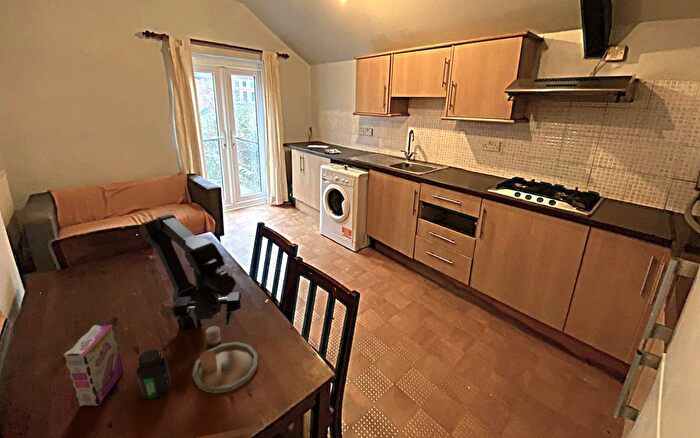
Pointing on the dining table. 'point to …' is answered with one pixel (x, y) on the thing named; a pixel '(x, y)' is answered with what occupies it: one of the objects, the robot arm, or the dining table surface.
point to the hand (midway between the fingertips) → (211, 326)
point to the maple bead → (213, 335)
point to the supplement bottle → (153, 375)
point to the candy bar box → (94, 365)
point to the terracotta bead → (208, 362)
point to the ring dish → (227, 368)
